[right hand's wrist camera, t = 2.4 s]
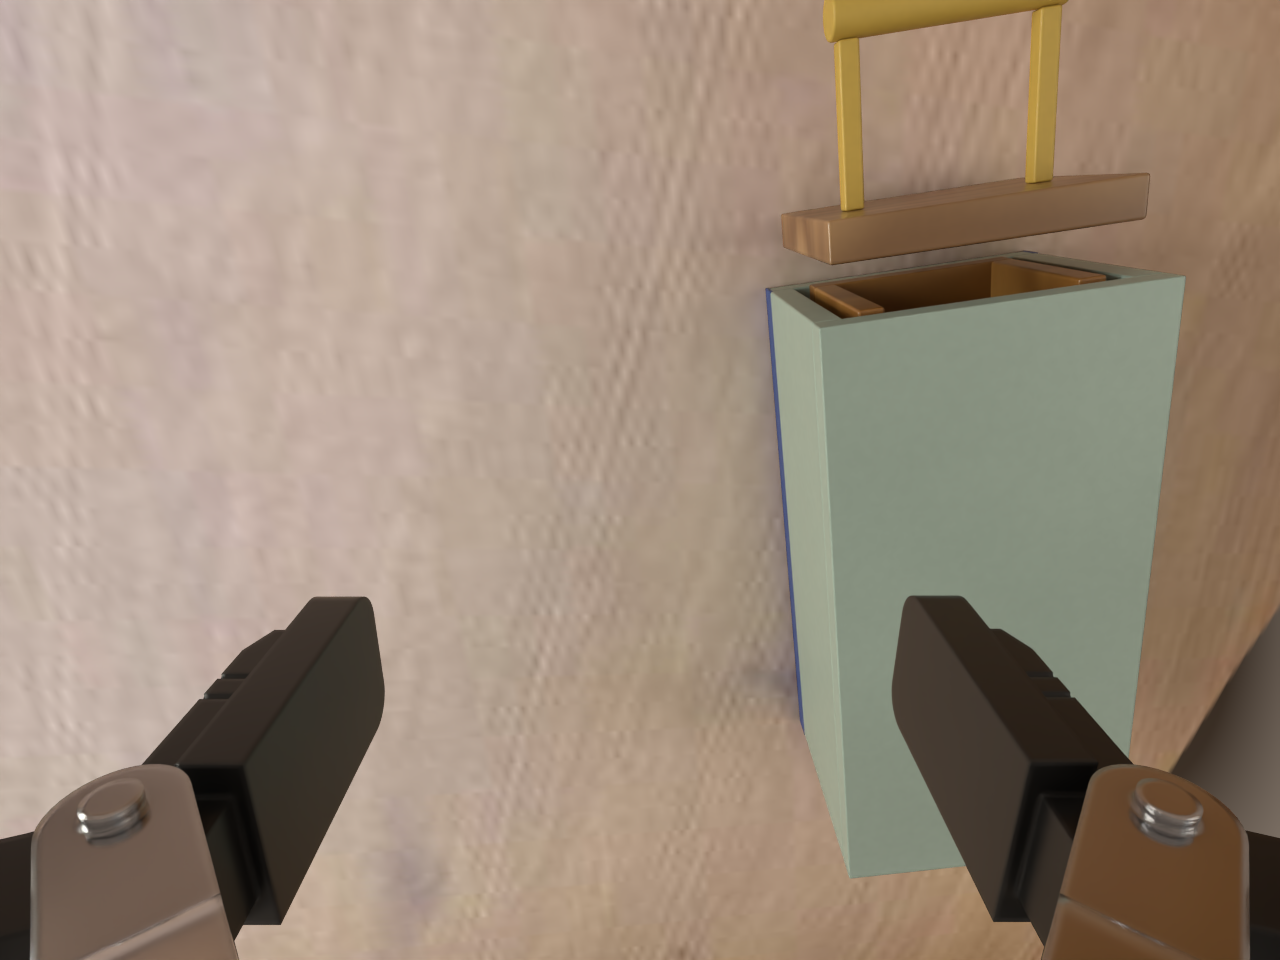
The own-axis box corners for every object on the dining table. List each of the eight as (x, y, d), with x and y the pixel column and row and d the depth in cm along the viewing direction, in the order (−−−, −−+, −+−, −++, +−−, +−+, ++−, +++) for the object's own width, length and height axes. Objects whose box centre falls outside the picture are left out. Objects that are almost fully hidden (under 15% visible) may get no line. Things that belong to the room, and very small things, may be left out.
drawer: (767, 27, 25) (815, -33, 18) (1031, -16, 24) (1178, -94, 18) (812, 663, 34) (854, 778, 27) (1004, 640, 34) (1095, 750, 27)
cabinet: (765, 288, 29) (818, 327, 20) (1024, 250, 28) (1187, 274, 20) (800, 720, 36) (849, 879, 28) (1005, 696, 36) (1118, 850, 27)
